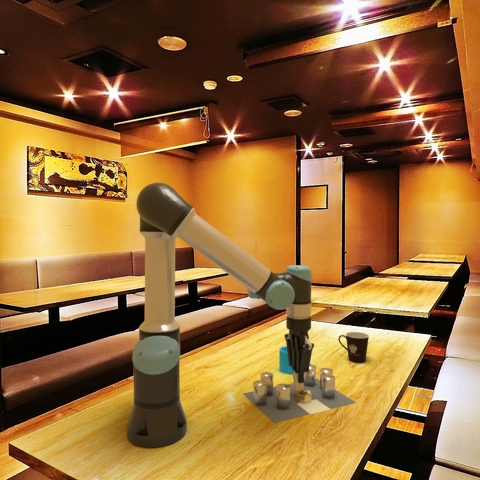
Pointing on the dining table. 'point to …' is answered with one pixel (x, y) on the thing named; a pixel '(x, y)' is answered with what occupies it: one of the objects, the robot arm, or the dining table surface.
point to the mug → (284, 361)
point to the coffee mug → (356, 346)
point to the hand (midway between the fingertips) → (298, 391)
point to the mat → (301, 408)
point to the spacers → (265, 387)
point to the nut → (303, 396)
